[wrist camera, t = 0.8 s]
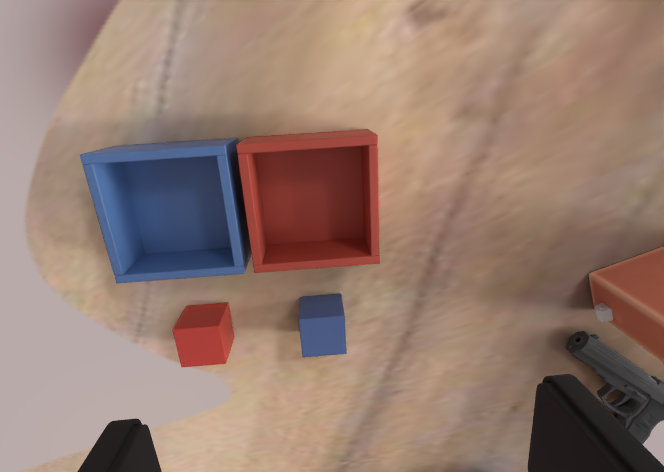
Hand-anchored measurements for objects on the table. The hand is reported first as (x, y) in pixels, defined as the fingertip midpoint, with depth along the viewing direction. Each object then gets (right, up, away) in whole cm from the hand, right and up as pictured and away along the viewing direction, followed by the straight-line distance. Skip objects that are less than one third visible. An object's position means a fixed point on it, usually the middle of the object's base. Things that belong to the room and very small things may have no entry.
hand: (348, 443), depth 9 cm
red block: (-14, -5, +34) cm, 37 cm away
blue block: (-2, -4, +34) cm, 34 cm away
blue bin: (-15, +8, +29) cm, 34 cm away
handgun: (+34, -15, +40) cm, 55 cm away
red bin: (-2, +9, +29) cm, 31 cm away
